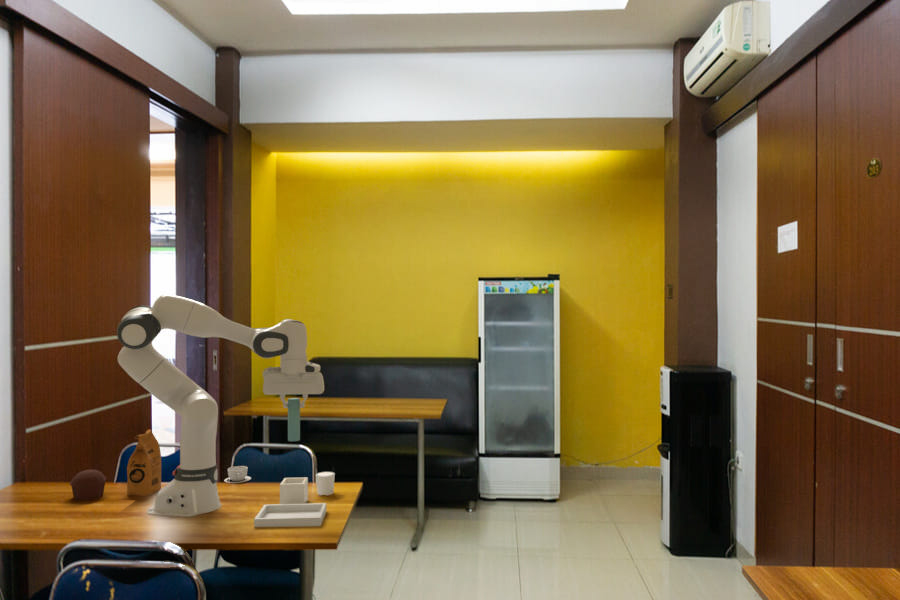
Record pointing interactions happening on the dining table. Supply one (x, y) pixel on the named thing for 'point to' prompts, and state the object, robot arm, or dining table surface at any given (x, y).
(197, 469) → the robot arm
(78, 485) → the muffin
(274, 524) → the tray
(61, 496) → the dining table surface
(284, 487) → the deep box
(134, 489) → the coffee package
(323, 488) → the tan cylinder
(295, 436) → the dowel
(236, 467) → the teacup
